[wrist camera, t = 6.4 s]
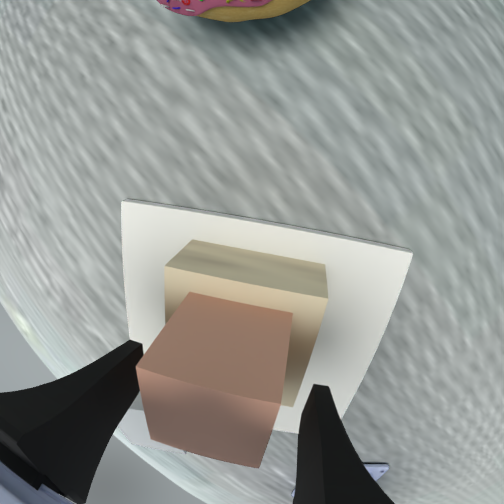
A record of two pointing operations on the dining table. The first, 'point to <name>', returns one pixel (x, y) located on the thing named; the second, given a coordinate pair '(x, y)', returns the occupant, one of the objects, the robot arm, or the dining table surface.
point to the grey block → (141, 428)
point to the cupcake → (232, 8)
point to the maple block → (255, 293)
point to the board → (282, 244)
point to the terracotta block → (216, 378)
